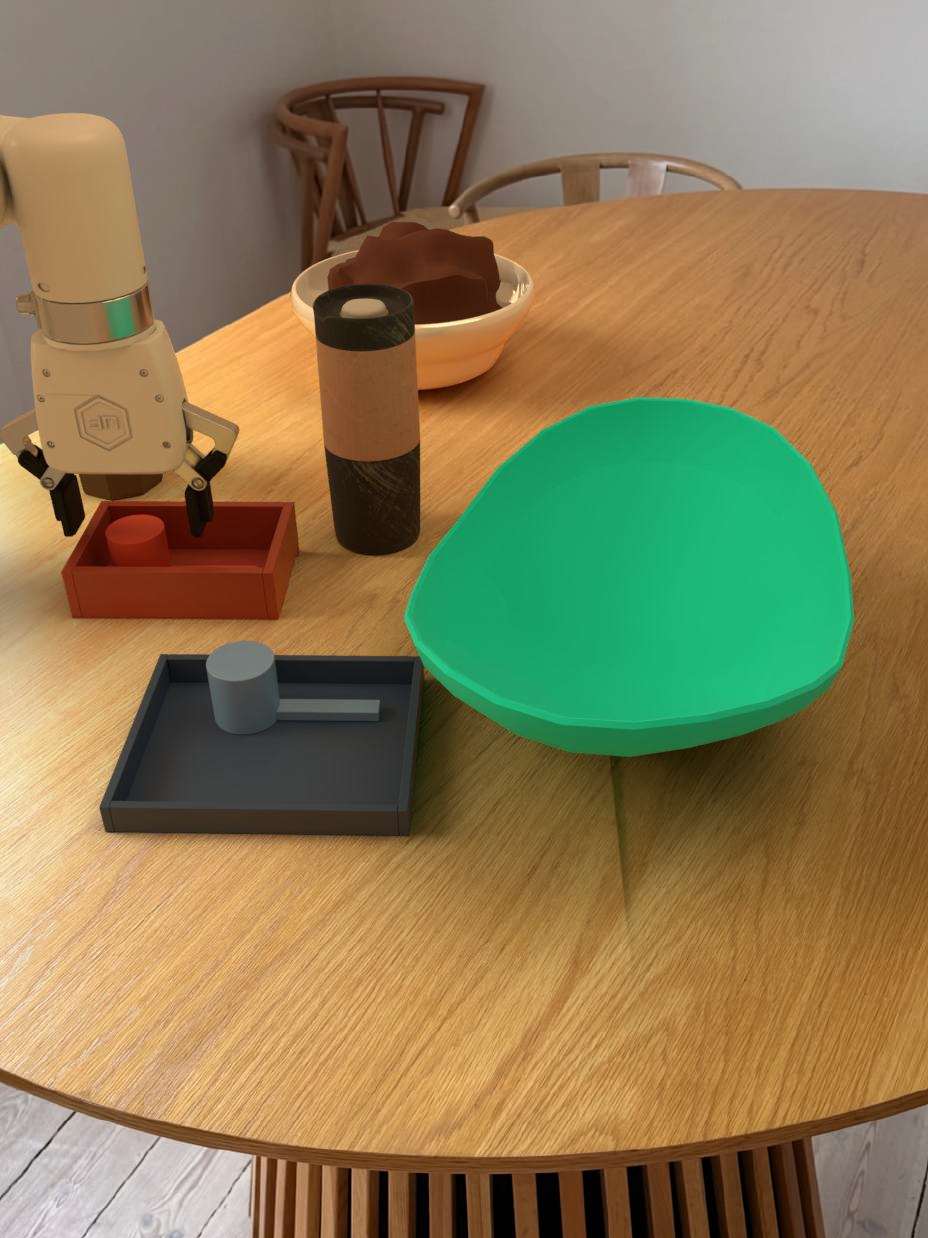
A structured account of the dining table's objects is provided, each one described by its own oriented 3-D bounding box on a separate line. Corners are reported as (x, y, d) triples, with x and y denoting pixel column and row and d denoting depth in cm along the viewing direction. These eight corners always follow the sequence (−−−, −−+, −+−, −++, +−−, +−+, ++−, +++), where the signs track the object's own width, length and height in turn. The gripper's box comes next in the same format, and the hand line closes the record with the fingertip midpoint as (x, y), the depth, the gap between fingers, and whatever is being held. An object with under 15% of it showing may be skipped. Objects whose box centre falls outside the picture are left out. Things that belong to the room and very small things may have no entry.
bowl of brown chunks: (327, 436, 116) (314, 282, 108) (277, 342, 136) (263, 205, 127) (569, 399, 123) (575, 250, 114) (488, 314, 142) (488, 182, 134)
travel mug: (435, 516, 103) (428, 287, 92) (406, 563, 97) (395, 323, 86) (351, 505, 105) (334, 278, 94) (317, 549, 99) (295, 313, 88)
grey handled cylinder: (208, 734, 80) (199, 680, 77) (221, 693, 83) (213, 639, 81) (377, 736, 79) (373, 682, 77) (383, 694, 83) (379, 641, 80)
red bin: (72, 622, 91) (60, 571, 89) (111, 548, 100) (101, 500, 97) (279, 623, 91) (272, 573, 88) (299, 549, 99) (294, 501, 97)
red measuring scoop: (109, 593, 93) (98, 543, 91) (123, 563, 97) (113, 514, 94) (252, 594, 93) (245, 543, 91) (261, 563, 97) (255, 514, 94)
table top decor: (508, 524, 102) (509, 377, 95) (848, 573, 95) (878, 419, 88) (324, 852, 71) (304, 672, 64) (808, 962, 64) (849, 774, 57)
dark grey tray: (105, 836, 73) (98, 807, 71) (165, 681, 85) (160, 653, 84) (409, 840, 72) (407, 811, 71) (424, 683, 84) (423, 655, 83)
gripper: (-50, 331, 80) (9, 553, 90) (210, 331, 79) (241, 554, 89) (-10, 292, 86) (41, 503, 96) (232, 291, 86) (259, 504, 95)
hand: (137, 528), depth 92 cm, fingers open, 9 cm apart
